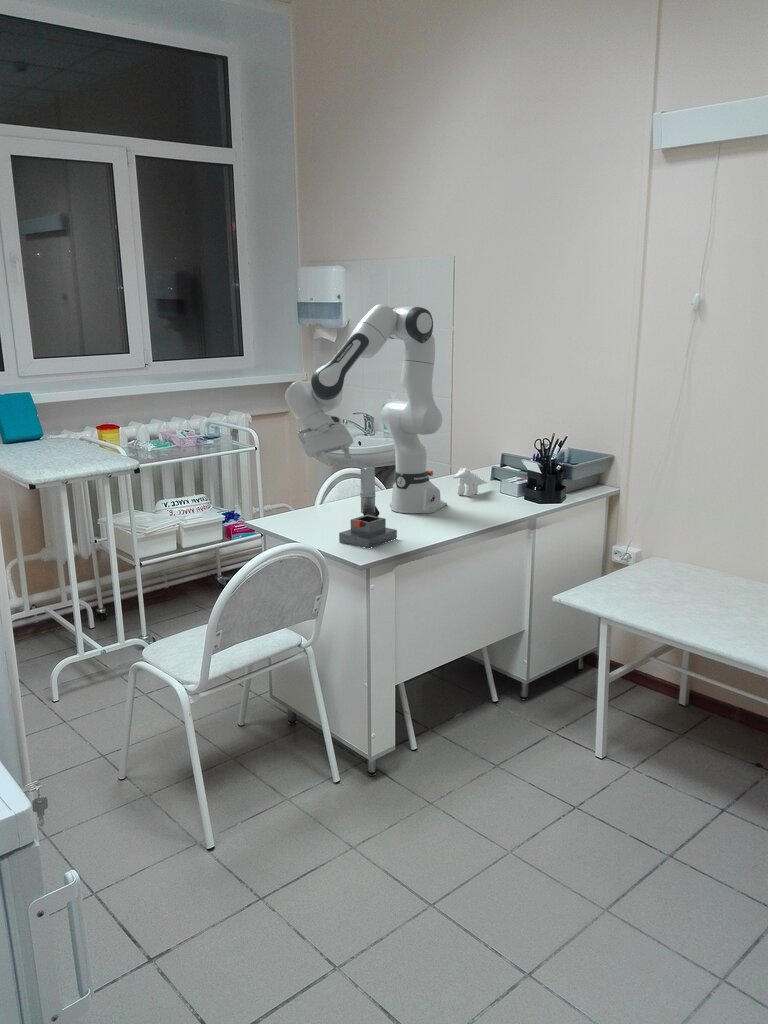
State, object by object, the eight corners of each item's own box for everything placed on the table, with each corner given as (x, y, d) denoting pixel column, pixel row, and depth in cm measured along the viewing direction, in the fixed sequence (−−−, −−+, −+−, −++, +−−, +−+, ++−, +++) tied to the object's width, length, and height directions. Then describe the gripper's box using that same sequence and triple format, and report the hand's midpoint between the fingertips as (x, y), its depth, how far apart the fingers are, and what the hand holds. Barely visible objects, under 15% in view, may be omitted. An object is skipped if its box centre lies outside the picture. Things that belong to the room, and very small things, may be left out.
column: (367, 509, 259) (366, 466, 255) (378, 511, 256) (378, 468, 252) (357, 512, 255) (357, 468, 252) (369, 514, 252) (368, 470, 249)
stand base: (367, 532, 267) (367, 510, 265) (396, 538, 259) (396, 516, 258) (339, 542, 256) (338, 518, 254) (368, 548, 249) (368, 525, 247)
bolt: (367, 536, 270) (369, 522, 284) (380, 528, 269) (381, 516, 284) (358, 521, 269) (360, 508, 283) (371, 514, 268) (373, 502, 282)
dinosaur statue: (444, 496, 313) (446, 467, 311) (479, 492, 331) (482, 465, 329) (459, 499, 309) (461, 470, 307) (493, 494, 327) (496, 467, 325)
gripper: (300, 425, 252) (324, 462, 250) (342, 416, 268) (365, 450, 266) (290, 437, 256) (312, 473, 254) (332, 427, 272) (353, 461, 270)
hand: (339, 461), depth 260 cm, fingers open, 8 cm apart
